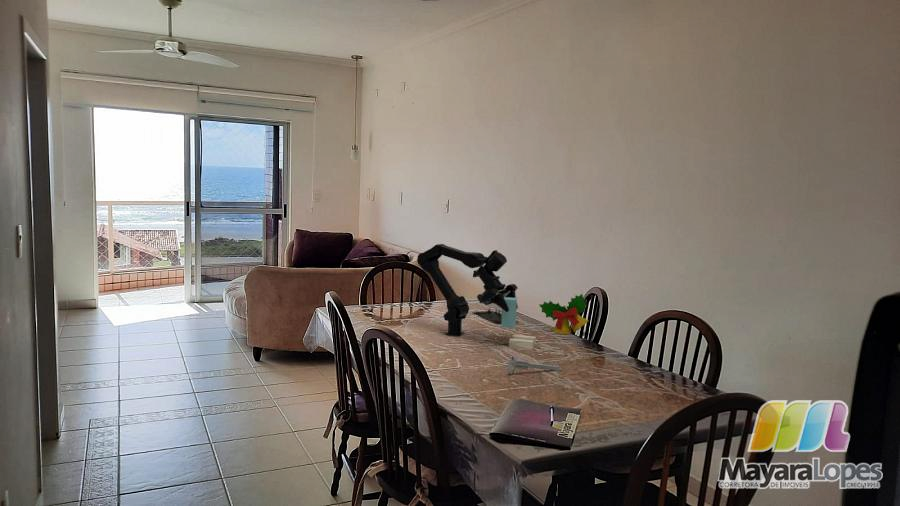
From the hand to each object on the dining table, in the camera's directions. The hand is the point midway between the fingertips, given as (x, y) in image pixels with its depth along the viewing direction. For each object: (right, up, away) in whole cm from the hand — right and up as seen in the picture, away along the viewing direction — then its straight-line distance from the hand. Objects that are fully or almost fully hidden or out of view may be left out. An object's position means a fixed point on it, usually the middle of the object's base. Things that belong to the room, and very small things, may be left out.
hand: (512, 310), depth 245 cm
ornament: (+24, -12, +27) cm, 38 cm away
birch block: (+4, -15, +2) cm, 15 cm away
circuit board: (-2, -9, +52) cm, 53 cm away
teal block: (-1, -6, +2) cm, 7 cm away
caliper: (+5, -19, -31) cm, 37 cm away
